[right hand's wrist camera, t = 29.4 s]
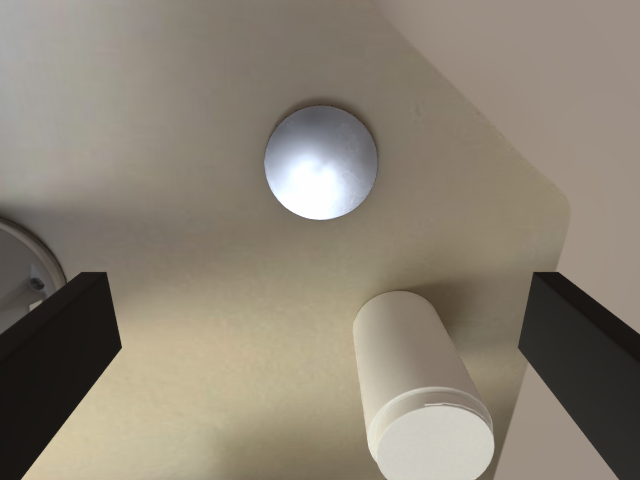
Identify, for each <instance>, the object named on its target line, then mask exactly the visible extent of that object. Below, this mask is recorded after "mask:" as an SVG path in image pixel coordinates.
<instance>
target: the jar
mask: <svg viewBox="0 0 640 480" xmlns="http://www.w3.org/2000/svg"><path fill="white" fill-rule="evenodd" d="M353 336H354V344H355V351H356V359H357V366H358V373H359V381H360V388H361V395H362V403H363V410H364V418H365V425H366V432H367V440H368V446H369V449H370V452H371V454H372V456H373V458H374V459H375V461H376V462H377V463H378V466H379V468H380V470H381V472H382V474H383V475H384V476H385V477H386V478H387V479H388V480H475V479H476V478H478V477H479V476H480V475H481V474H482V473H483V472H484V471H485V470H486V468H487V467H488V465H489V464H490V462H491V460H492V457H493V454H494V435H493V423H492V419H491V416H490V414H489V412H488V410H487V408H486V406H485V404H484V402H483V400H482V398H481V396H480V394H479V392H478V391H477V389H476V387H475V385H474V383H473V381H472V379H471V377H470V375H469V373H468V371H467V369H466V368H465V366H464V364H463V362H462V360H461V358H460V356H459V354H458V352H457V350H456V348H455V347H454V345H453V343H452V341H451V339H450V337H449V335H448V333H447V331H446V329H445V327H444V326H443V324H442V322H441V320H440V318H439V316H438V314H437V312H436V310H435V309H434V307H433V306H432V305H431V303H430V302H428V301H427V300H426V299H425V298H423V297H422V296H419V295H417V294H415V293H412V292H407V291H391V292H386V293H383V294H380V295H378V296H376V297H374V298H372V299H371V300H369V301H368V302H367V303H366V304H365V305H364V306H363V307H362V308H361V309H360V310H359V312H358V314H357V316H356V318H355V321H354V325H353Z"/></svg>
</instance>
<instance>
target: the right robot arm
mask: <svg viewBox="0 0 640 480" xmlns="http://www.w3.org/2000/svg"><path fill="white" fill-rule="evenodd" d="M121 348H122V345H121V340H120V335H119V331H118V326H117V321H116V316H115V311H114V306H113V301H112V297H111V292H110V287H109V282H108V277H107V272H81V273H80V274H78V275H77V276H76V277H74V278H73V279H72V280H71V281H69V282H68V283H67V284H66V282H65V279H64V276H63V273H62V271H61V269H60V267H59V265H58V263H57V262H56V260H55V258H54V257H53V256H52V254H51V253H50V252H49V250H48V249H47V248H46V247H45V246H44V245H43V244H42V243H41V242H40V241H39V240H38V239H37V238H35V237H34V236H33V235H32V234H30V233H29V232H27V231H26V230H24V229H23V228H21V227H20V226H18V225H16V224H14V223H12V222H10V221H7V220H5V219H2V218H0V480H21V479H22V477H23V476H24V475H25V474H26V472H27V471H28V470H29V468H30V467H31V466H32V464H33V463H34V462H35V461H36V459H37V458H38V457H39V455H40V454H41V453H42V451H43V450H44V449H45V447H46V446H47V445H48V444H49V442H50V441H51V440H52V438H53V437H54V436H55V434H56V433H57V432H58V431H59V429H60V428H61V427H62V425H63V424H64V423H65V421H66V420H67V419H68V417H69V416H70V415H71V414H72V412H73V411H74V410H75V408H76V407H77V406H78V404H79V403H80V402H81V400H82V399H83V398H84V397H85V395H86V394H87V393H88V391H89V390H90V389H91V387H92V386H93V385H94V384H95V382H96V381H97V380H98V378H99V377H100V376H101V374H102V373H103V372H104V370H105V369H106V368H107V367H108V365H109V364H110V363H111V361H112V360H113V359H114V357H115V356H116V355H117V354H118V352H119V351H120V350H121ZM518 348H519V350H520V351H521V352H522V354H523V355H524V356H525V357H526V359H527V360H528V361H529V363H530V364H531V365H532V367H533V368H534V369H535V370H536V372H537V373H538V374H539V376H540V377H541V378H542V380H543V381H544V382H545V383H546V385H547V386H548V387H549V389H550V390H551V391H552V393H553V394H554V395H555V397H556V398H557V399H558V400H559V402H560V403H561V404H562V406H563V407H564V408H565V410H566V411H567V412H568V414H569V415H570V416H571V417H572V419H573V420H574V421H575V423H576V424H577V425H578V427H579V428H580V429H581V431H582V432H583V433H584V434H585V436H586V437H587V438H588V440H589V441H590V442H591V444H592V445H593V446H594V447H595V449H596V450H597V451H598V453H599V454H600V455H601V457H602V458H603V459H604V460H605V462H606V463H607V464H608V466H609V467H610V468H611V470H612V471H613V472H614V474H615V475H616V476H617V477H618V479H619V480H640V334H639V333H637V332H636V331H635V330H633V329H632V328H631V327H629V326H628V325H627V324H625V323H624V322H623V321H622V320H620V319H619V318H618V317H616V316H615V315H614V314H612V313H611V312H610V311H609V310H607V309H606V308H605V307H603V306H602V305H601V304H599V303H598V302H597V301H596V300H594V299H593V298H592V297H590V296H589V295H588V294H586V293H585V292H584V291H582V290H581V289H580V288H579V287H577V286H576V285H575V284H573V283H572V282H571V281H569V280H568V279H567V278H566V277H564V276H563V275H562V274H560V273H559V272H533V277H532V282H531V287H530V292H529V297H528V301H527V306H526V311H525V316H524V321H523V326H522V331H521V335H520V340H519V345H518Z"/></svg>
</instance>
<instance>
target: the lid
mask: <svg viewBox="0 0 640 480" xmlns="http://www.w3.org/2000/svg"><path fill="white" fill-rule="evenodd" d="M276 127H277V128H276V129H275V130H274V132H273V133H272V135H271V136H270V139H269V141H268V144H267V147H266V151H265V157H264V168H265V175H266V179H267V182H268V184H269V187H270V189H271V191H272V192H273V194H274V195H275V197H276V198H277V199H278V201H279V202H280V203H281V204H282V205H283V206H285V207H286V208H287V209H288V210H290V211H292V212H293V213H295V214H297V215H299V216H302V217H305V218H309V219H315V220H327V219H333V218H337V217H340V216H343V215H345V214H347V213H349V212H351V211H352V210H354V209H355V208H356V207H358V206H359V205H360V204H361V203H362V202H363V201H364V200H365V198H366V197H367V196H368V194H369V193H370V191H371V189H372V187H373V185H374V182H375V179H376V175H377V170H378V156H377V150H376V145H375V143H374V141H373V138H372V136H371V133H369V131H368V130H367V129H366V127H365V126H364V124H363V123H361V122H360V121H359V120H358V119H357V118H356V117H355V115H352V114H350V113H348V112H346V111H345V110H344V109H343V110H342V109H340V108H337V107H333V105H331V106H327V105H320V104H319V105H315V106H309V107H308V106H307V107H305V108H303V109H300V110H298V111H297V110H296V111H295V112H294V113H292V114H291V115H289V116H288V117H287V116H286V117H285V119H284V120H283V121H282V122H281V123H280V124H279V125H277V126H276Z"/></svg>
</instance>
